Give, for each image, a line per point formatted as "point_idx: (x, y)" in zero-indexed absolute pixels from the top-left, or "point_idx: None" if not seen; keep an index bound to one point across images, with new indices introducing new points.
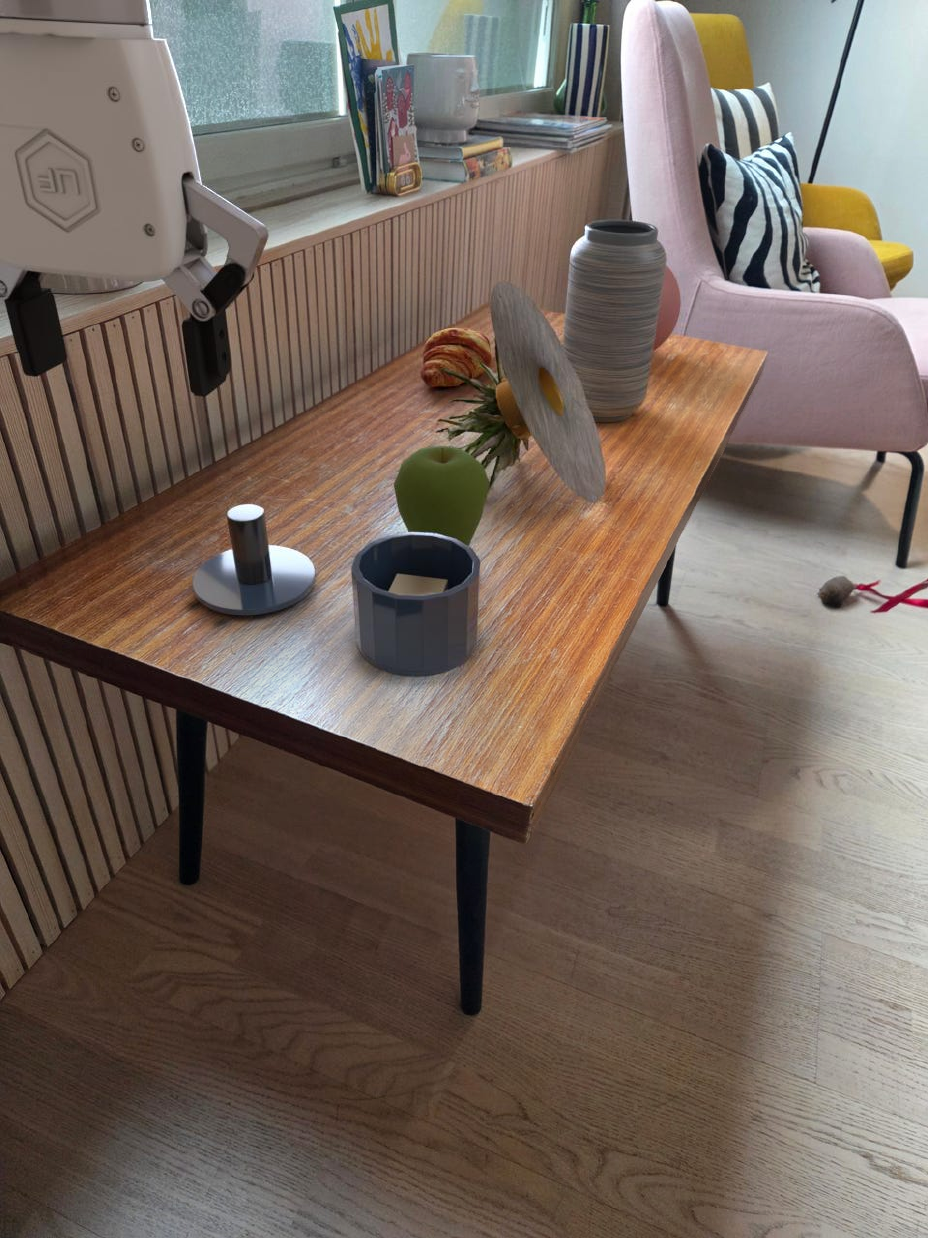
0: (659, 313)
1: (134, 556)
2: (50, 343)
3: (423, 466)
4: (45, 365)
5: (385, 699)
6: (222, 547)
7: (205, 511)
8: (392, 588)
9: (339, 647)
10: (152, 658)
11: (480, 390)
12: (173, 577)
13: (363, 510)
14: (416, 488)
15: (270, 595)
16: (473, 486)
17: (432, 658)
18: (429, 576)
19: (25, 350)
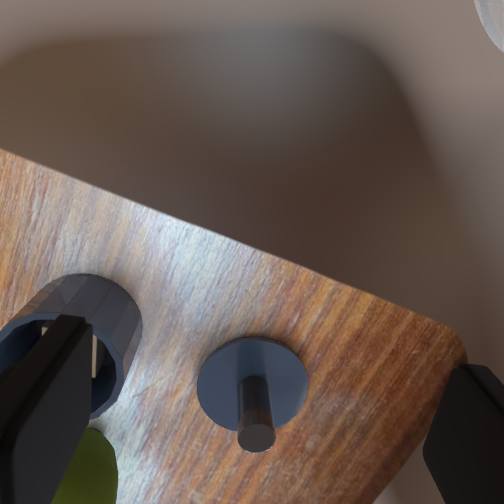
0: None
1: (374, 412)
2: (457, 456)
3: None
4: (449, 399)
5: (96, 242)
6: (298, 432)
7: (329, 482)
8: (93, 354)
9: (155, 306)
10: (315, 279)
11: None
12: (330, 387)
13: (182, 497)
14: (78, 487)
15: (230, 362)
16: None
17: (54, 284)
18: None
19: (497, 397)
